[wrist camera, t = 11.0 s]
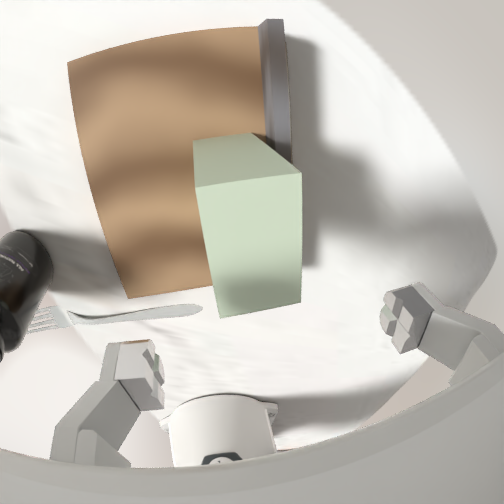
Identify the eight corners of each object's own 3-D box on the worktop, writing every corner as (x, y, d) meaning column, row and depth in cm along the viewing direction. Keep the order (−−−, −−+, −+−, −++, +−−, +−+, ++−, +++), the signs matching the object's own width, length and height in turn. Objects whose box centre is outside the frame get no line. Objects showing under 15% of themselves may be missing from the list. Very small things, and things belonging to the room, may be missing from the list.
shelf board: (281, 262, 27) (294, 289, 24) (130, 288, 25) (124, 318, 22) (269, 30, 16) (286, 19, 13) (74, 63, 15) (52, 60, 11)
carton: (251, 132, 19) (302, 172, 11) (258, 216, 23) (301, 302, 14) (192, 140, 19) (193, 188, 10) (205, 225, 22) (218, 318, 14)
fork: (229, 314, 30) (232, 326, 29) (28, 326, 26) (23, 337, 24) (228, 290, 28) (231, 302, 27) (16, 306, 24) (11, 316, 23)
